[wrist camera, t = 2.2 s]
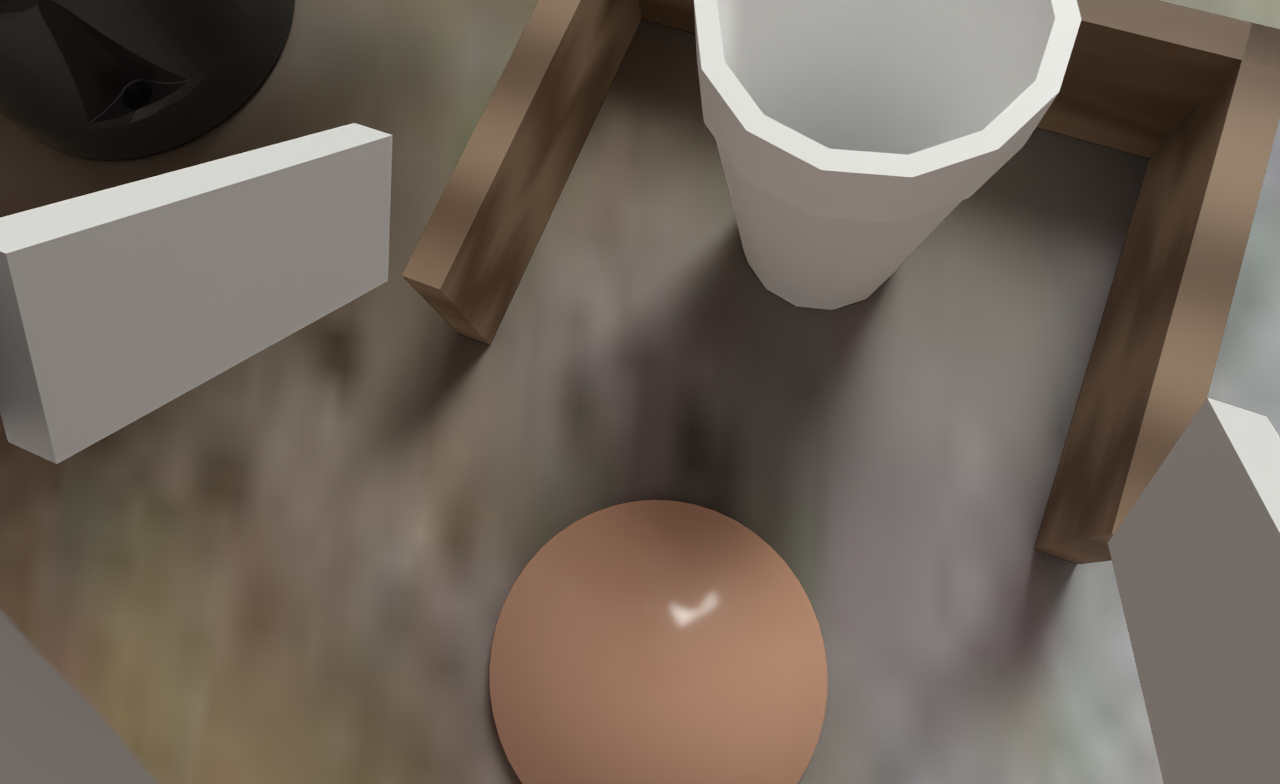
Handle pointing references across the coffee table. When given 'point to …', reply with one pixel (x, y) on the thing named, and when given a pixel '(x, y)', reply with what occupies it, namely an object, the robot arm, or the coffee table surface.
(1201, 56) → the wooden tray
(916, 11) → the foam cup
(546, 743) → the terracotta pad
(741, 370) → the coffee table surface
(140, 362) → the robot arm
